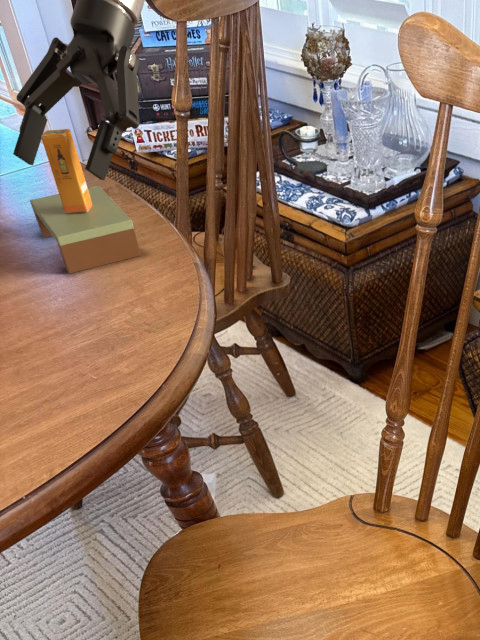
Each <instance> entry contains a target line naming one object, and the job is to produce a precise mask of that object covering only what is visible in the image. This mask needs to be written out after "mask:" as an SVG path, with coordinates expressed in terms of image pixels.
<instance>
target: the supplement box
mask: <svg viewBox="0 0 480 640" xmlns="http://www.w3.org/2000/svg"><path fill="white" fill-rule="evenodd" d="M41 142H42V145H43V147H44V151H45V154H46V157H47V161H48V164H49V166H50V169H51V173H52V175H53V179H54V182H55V186H56V189H57V192H58V194H59V195H60V198H61V202H62V205H63V208H64V212H65V213H80V212H88V211H89V210H90V208H91V206H92V201H91V198H90V194H89V191H88V185H87V181H86V177H85V174H84V170H83V168H82V165H81V161H80V158H79V154H78V151H77V148H76V145H75V141H74V137H73V134H72V132H71V129H70V128H64V129H51V130H50V129H49V130H46V131H44V132H43V134H42V135H41Z"/></svg>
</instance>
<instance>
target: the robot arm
mask: <svg viewBox="0 0 480 640" xmlns="http://www.w3.org/2000/svg"><path fill="white" fill-rule="evenodd" d="M145 2H146V0H76V3H75V5H74V8H73V11H72V14H71V17H70V26H71V29H72V33H73V36H72V39H71V40H70V42H69V43H65V42H63V41H62V40H61V39H60V38H59V37H57V36H56V37H53V38H52V39H51V41H50V45H49V47H48V50H47V52H46V53H45V55H44V56H43V58H42V60H41V61H40V62H39V63H38V64H37V67H35V69H34V70H33V72H32V73H31V74H30V76H29V78H28V79H27V80H26V82H25V83H24V84H23V86H22V88H21V89H20V90H19V92H18V93H17V95H16V97H15V98H16V101H17V102H19V103H20V104H21V105H22V106H23V107H24V109H25V111H24V114H23V116H22V117H23V118H22V120H21V124H20V126H19V134H18V137H17V140H16V143H15V147H14V150H13V153H12V155H14V156H15V157H16V158H17V159H20V160H21V161H23V162H24V163H26V164H27V165H29V166H34V163H35V160H36V157H37V154H38V151H39V148H40V144H41V142H42V139H41V135H42V134H43V133H44V132H45V129H46V126H47V123H48V119H47V116H46V114H47V113H48V112H49V111H51V109H52V108H54V107H55V105H57V103H59V102H60V101H61V100H62V99H63V98H64V97H65V96H66V95H67V94H68V93H69V92H70V91H71V90H72V89H73V88H78V87H80V86H82V85H83V84H84V85H90V84H92V85H94V86H97V88H98V91H99V92H98V93H99V95H100V98H101V103H102V106H103V109H104V113H105V114H104V115H103V117H102V118H104V119H105V120H103V119H100V121H99V124H98V127H97V130H96V134H95V137H94V140H93V142H92V146H91V149H90V153H89V156H88V157H87V162H86V165H85V167H84V169H85V170H86V171H87V172H89V173H90V174H92V175H93V176H94V177H96V178H97V179H99V180H101V181H105V180H106V177H107V174H108V171H109V168H110V164H111V162H112V159H113V155H115V154H116V152H117V151H118V148H119V146H120V145H119V144H120V141H121V138H122V135H123V133H125V132H127V130H128V129H129V128H132V129H133V130H137V129H138V128H139V126H140V109H139V89H138V72H139V67H140V63H141V60H140V58H139V57H138V56H137V55H136V54H135V53H134V52H133V51H132V50H131V46H132V43H133V40H134V38H135V34H136V28H135V27H136V26H138V23H139V20H140V17H141V14H142V10H143V8H144V6H145ZM107 121H108V122H107Z"/></svg>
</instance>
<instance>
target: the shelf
mask: <svg viewBox="0 0 480 640" xmlns="http://www.w3.org/2000/svg"><path fill="white" fill-rule="evenodd" d="M87 187H88V186H87ZM88 191H89V194H90V198H91V201H92V206H91V208H90V210H89V211H88V212H80V213H65V212H64V208H63V205H62V202H61V198H60V195H59V193H57V194H51V195H47V196H43V197H38V198H33V199H29V203H30V205H31V208H32V211H33V214H34V218H35V220H36V222H37V223H36V224H37V226H38V229H39V231H40V235H42V237H43V238H49V237H53V238H54V239H53V240H55V241H56V244H57V247H58V249H59V253H60V255H61V258H62V261H63V265H64V267H65V270H66V272H67V273H68V274H70V275H71V274H73V273H78V272H82V271H85V270H86V271H87V270H89V269H93V268H97V267H101V266H105V265H110V264H114V263H117V262H120V261H125V260H129V259H133V258H136V257H140V256H142V253H141V250H140V246H139V243H138V239H137V235H136V232H135V228H134V224H133V220H132V219H131V218H130V217H129V216H128V215H127V214H126V212H124V210H123V209H122V208H121V207H120V206H119V205H118V204H117V203H116V202H115V201H114V200H113V199H112V198H111V197H110V195H109V194H108V193H106V191H104V189H103V188H102V187H101V186H100V185H93V186H89V187H88Z"/></svg>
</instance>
